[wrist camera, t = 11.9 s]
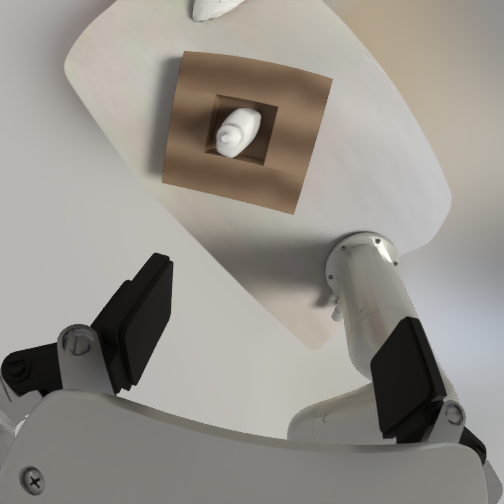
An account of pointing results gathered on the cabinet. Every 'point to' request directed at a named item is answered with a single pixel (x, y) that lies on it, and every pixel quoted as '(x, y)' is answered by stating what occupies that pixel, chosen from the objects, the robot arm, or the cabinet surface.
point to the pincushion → (212, 8)
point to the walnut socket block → (265, 142)
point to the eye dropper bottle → (238, 131)
